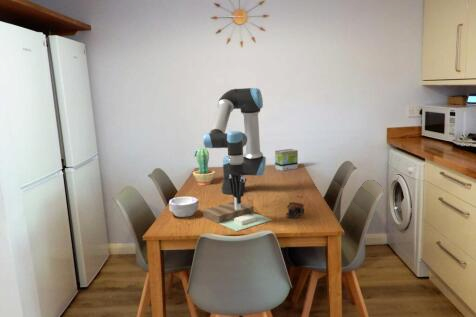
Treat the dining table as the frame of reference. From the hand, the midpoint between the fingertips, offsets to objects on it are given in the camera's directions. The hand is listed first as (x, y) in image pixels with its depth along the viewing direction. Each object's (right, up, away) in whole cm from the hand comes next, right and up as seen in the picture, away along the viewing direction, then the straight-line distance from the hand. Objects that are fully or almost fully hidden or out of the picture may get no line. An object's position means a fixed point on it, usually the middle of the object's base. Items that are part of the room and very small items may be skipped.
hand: (237, 209), depth 198 cm
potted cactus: (-23, +8, +76) cm, 80 cm away
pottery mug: (+29, -4, +2) cm, 30 cm away
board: (-5, -4, +7) cm, 10 cm away
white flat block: (+4, -4, -4) cm, 6 cm away
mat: (+4, -6, -4) cm, 8 cm away
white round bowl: (-28, -5, +12) cm, 31 cm away
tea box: (+38, +17, +112) cm, 120 cm away
